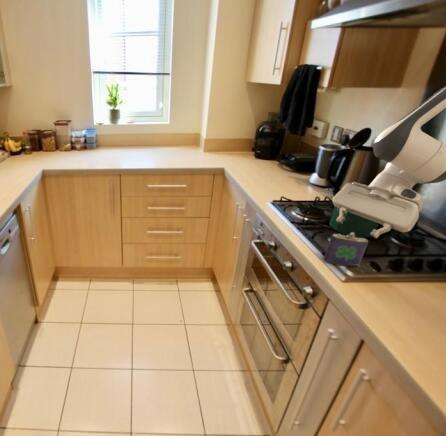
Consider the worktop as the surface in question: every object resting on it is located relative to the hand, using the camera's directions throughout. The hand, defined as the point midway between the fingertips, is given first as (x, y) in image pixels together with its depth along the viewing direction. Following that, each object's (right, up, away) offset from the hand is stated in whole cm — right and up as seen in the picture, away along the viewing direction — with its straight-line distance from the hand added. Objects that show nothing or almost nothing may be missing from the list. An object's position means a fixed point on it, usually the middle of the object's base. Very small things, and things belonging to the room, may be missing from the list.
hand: (355, 228), depth 91 cm
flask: (-1, -11, +5) cm, 12 cm away
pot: (+16, 0, +23) cm, 28 cm away
